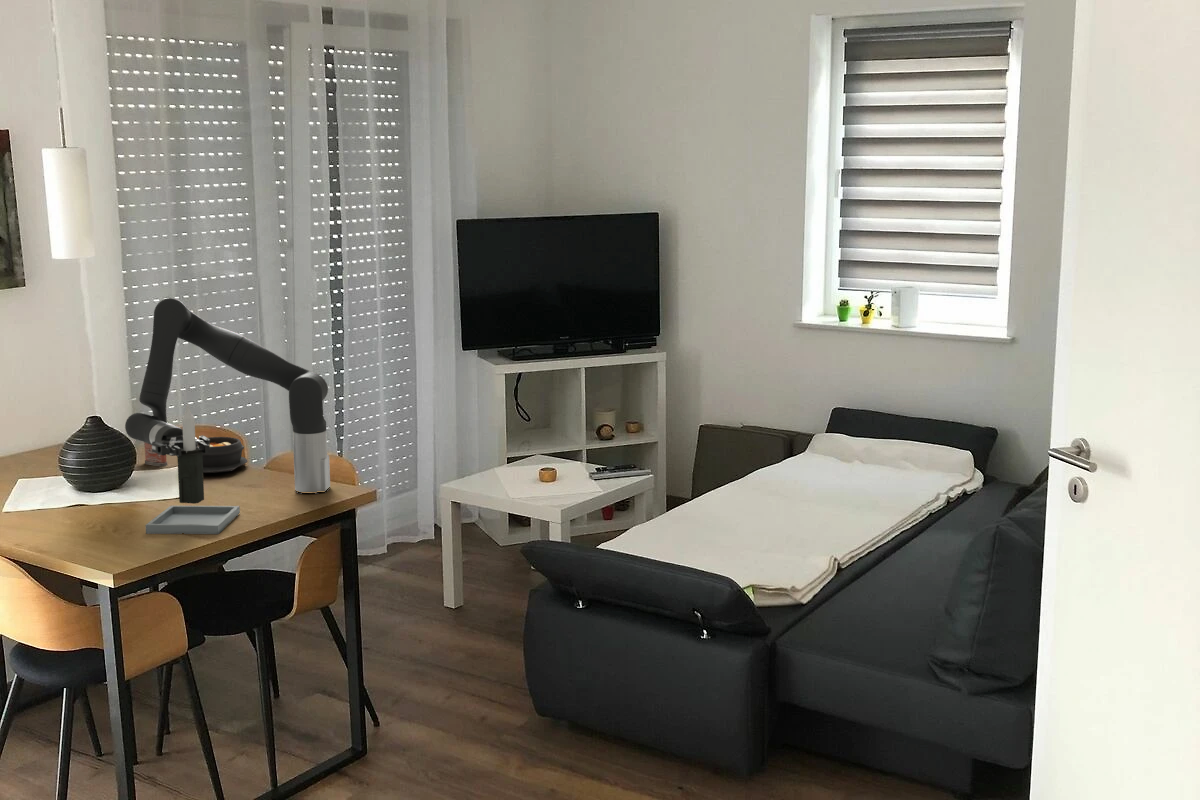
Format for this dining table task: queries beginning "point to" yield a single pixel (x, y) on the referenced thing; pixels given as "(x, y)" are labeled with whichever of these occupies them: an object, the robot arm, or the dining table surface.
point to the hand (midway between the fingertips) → (193, 450)
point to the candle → (190, 464)
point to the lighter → (154, 457)
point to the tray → (192, 520)
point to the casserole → (223, 455)
